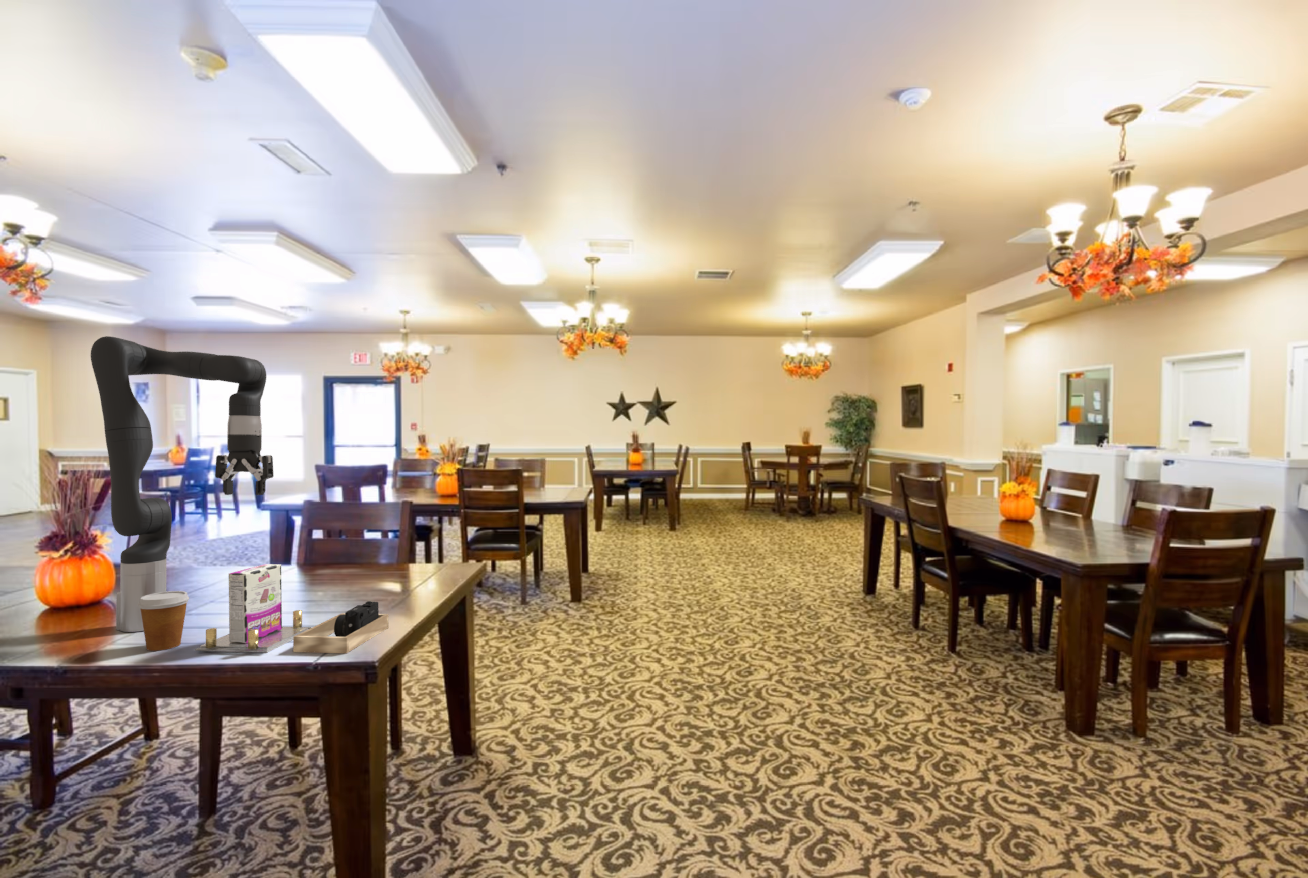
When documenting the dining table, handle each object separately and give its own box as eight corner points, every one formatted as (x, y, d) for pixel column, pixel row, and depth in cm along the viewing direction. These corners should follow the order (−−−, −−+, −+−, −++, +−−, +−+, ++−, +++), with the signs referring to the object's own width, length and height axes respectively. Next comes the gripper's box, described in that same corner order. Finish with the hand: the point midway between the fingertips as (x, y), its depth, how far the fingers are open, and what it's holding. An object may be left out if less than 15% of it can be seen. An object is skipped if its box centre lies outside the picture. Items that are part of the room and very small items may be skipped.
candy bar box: (265, 628, 156) (265, 563, 156) (282, 629, 155) (283, 564, 155) (227, 643, 145) (227, 572, 145) (245, 644, 144) (246, 573, 144)
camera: (354, 628, 161) (355, 597, 161) (383, 628, 161) (383, 597, 161) (327, 646, 146) (327, 612, 146) (357, 646, 147) (358, 612, 147)
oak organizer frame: (293, 652, 142) (293, 636, 142) (341, 626, 162) (341, 613, 162) (346, 653, 141) (346, 637, 141) (388, 627, 161) (388, 614, 161)
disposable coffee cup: (147, 656, 139) (147, 602, 139) (130, 648, 144) (130, 596, 144) (196, 644, 147) (196, 593, 147) (178, 637, 152) (179, 588, 152)
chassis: (195, 653, 141) (195, 630, 141) (251, 629, 159) (251, 609, 159) (262, 654, 140) (262, 631, 140) (311, 630, 158) (311, 610, 158)
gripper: (207, 433, 160) (207, 495, 160) (260, 433, 159) (260, 496, 159) (229, 433, 168) (228, 493, 168) (280, 433, 167) (279, 493, 167)
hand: (244, 494), depth 164 cm, fingers open, 8 cm apart
